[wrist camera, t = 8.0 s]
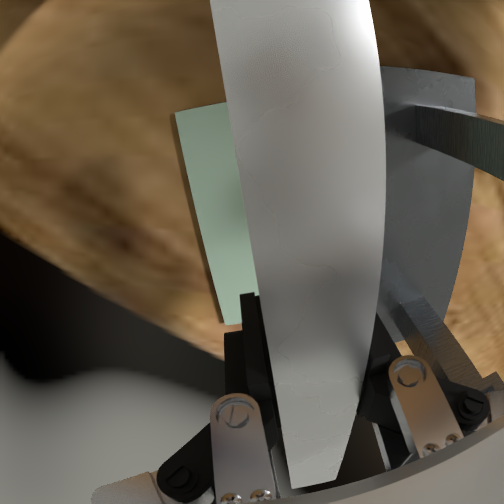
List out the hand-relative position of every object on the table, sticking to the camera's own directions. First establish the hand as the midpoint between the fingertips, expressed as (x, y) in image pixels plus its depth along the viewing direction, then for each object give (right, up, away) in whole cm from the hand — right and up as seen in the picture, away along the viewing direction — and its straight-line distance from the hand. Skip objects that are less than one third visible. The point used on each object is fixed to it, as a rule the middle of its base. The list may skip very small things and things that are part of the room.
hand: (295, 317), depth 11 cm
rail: (0, -1, -1) cm, 1 cm away
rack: (+10, +4, +9) cm, 14 cm away
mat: (-1, +4, +8) cm, 9 cm away
